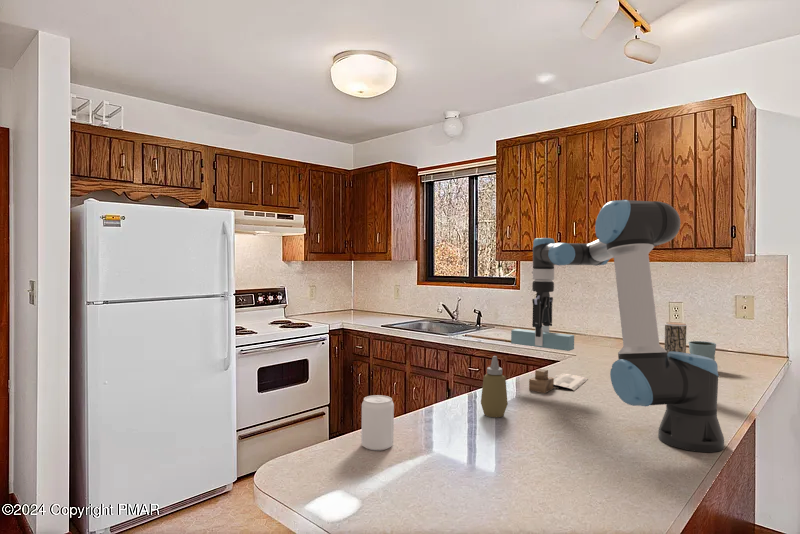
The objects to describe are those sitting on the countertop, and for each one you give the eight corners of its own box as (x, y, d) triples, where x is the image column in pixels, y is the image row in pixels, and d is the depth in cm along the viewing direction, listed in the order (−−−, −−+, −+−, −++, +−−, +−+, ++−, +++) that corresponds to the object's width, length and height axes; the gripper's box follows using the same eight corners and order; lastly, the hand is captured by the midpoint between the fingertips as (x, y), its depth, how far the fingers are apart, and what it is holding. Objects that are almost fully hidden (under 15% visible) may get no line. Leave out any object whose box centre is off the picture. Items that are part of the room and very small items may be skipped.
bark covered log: (687, 396, 183) (689, 325, 183) (666, 394, 184) (668, 324, 184) (681, 391, 190) (682, 322, 189) (661, 390, 191) (662, 322, 191)
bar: (568, 351, 181) (568, 336, 181) (511, 343, 195) (511, 330, 195) (574, 349, 185) (574, 335, 185) (517, 341, 199) (517, 328, 199)
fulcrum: (545, 393, 185) (545, 373, 185) (529, 390, 189) (529, 371, 189) (553, 388, 192) (553, 369, 191) (537, 386, 195) (538, 367, 195)
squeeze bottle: (487, 420, 154) (488, 359, 153) (476, 412, 162) (477, 354, 161) (512, 418, 156) (513, 358, 156) (500, 410, 164) (500, 353, 163)
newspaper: (556, 377, 213) (557, 371, 213) (587, 384, 207) (588, 378, 206) (539, 388, 194) (540, 381, 194) (572, 396, 187) (573, 389, 187)
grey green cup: (720, 372, 223) (721, 344, 222) (703, 373, 219) (704, 345, 219) (699, 367, 232) (700, 340, 232) (682, 368, 228) (683, 341, 228)
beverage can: (376, 438, 138) (376, 392, 138) (399, 445, 133) (400, 398, 132) (354, 446, 132) (355, 399, 131) (378, 454, 126) (379, 405, 126)
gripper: (543, 279, 199) (542, 340, 199) (522, 281, 184) (521, 346, 185) (562, 280, 194) (561, 342, 195) (543, 281, 180) (542, 349, 180)
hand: (542, 344), depth 190 cm, fingers closed on bar, 5 cm apart
